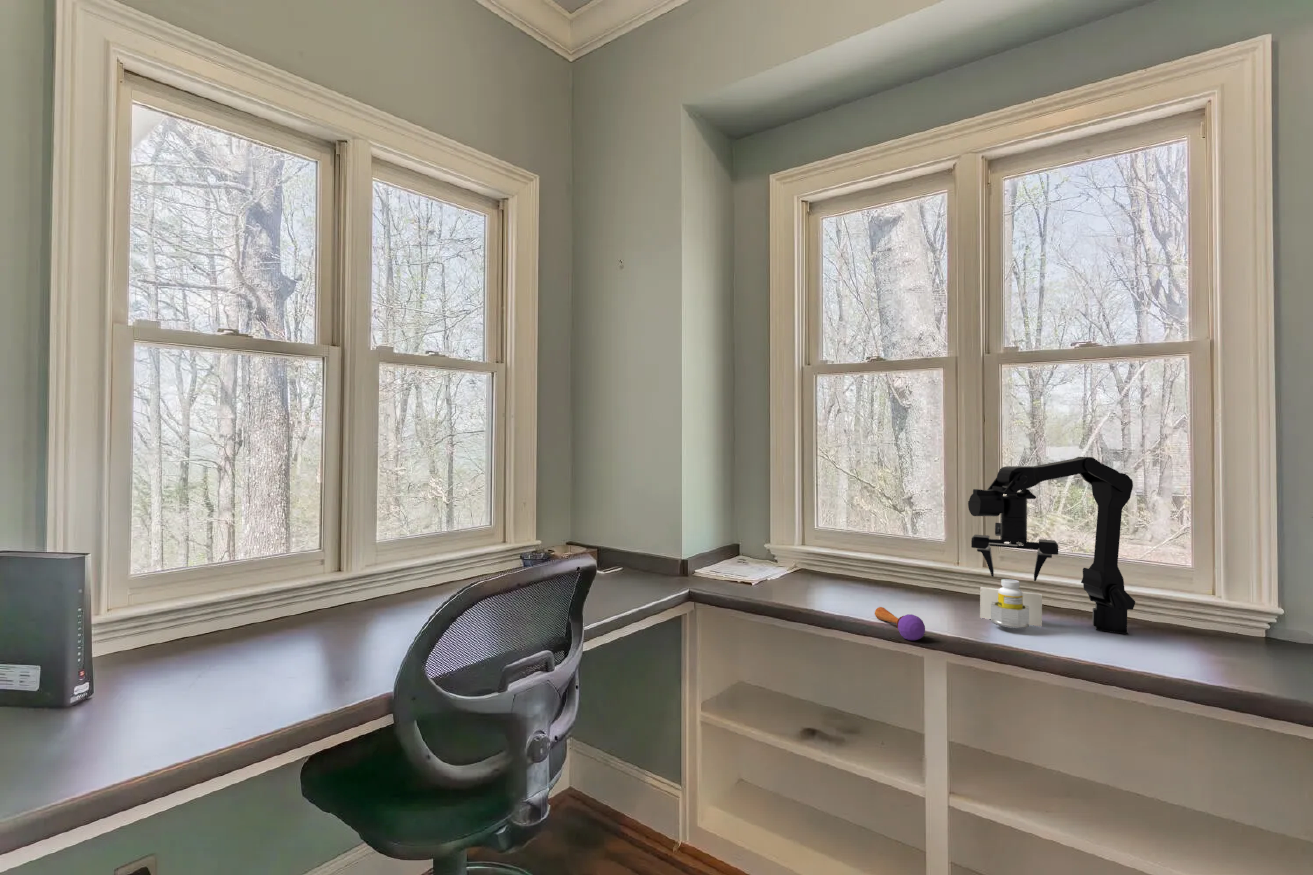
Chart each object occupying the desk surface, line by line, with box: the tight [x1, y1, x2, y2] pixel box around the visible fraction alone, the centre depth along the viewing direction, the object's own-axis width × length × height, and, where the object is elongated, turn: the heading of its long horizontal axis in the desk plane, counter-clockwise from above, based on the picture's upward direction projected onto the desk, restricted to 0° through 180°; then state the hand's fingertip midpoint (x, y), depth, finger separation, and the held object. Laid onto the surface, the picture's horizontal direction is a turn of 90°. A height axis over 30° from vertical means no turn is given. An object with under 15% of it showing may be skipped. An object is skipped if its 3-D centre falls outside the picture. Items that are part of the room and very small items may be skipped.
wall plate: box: [979, 586, 1043, 627], centre depth 163 cm, size 14×2×8 cm, turn 60°
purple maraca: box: [874, 606, 926, 642], centre depth 154 cm, size 6×6×20 cm
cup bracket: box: [990, 601, 1030, 629], centre depth 157 cm, size 8×11×4 cm
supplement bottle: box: [998, 578, 1023, 609], centre depth 156 cm, size 5×5×10 cm
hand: (1013, 578), depth 156 cm, fingers open, 9 cm apart
